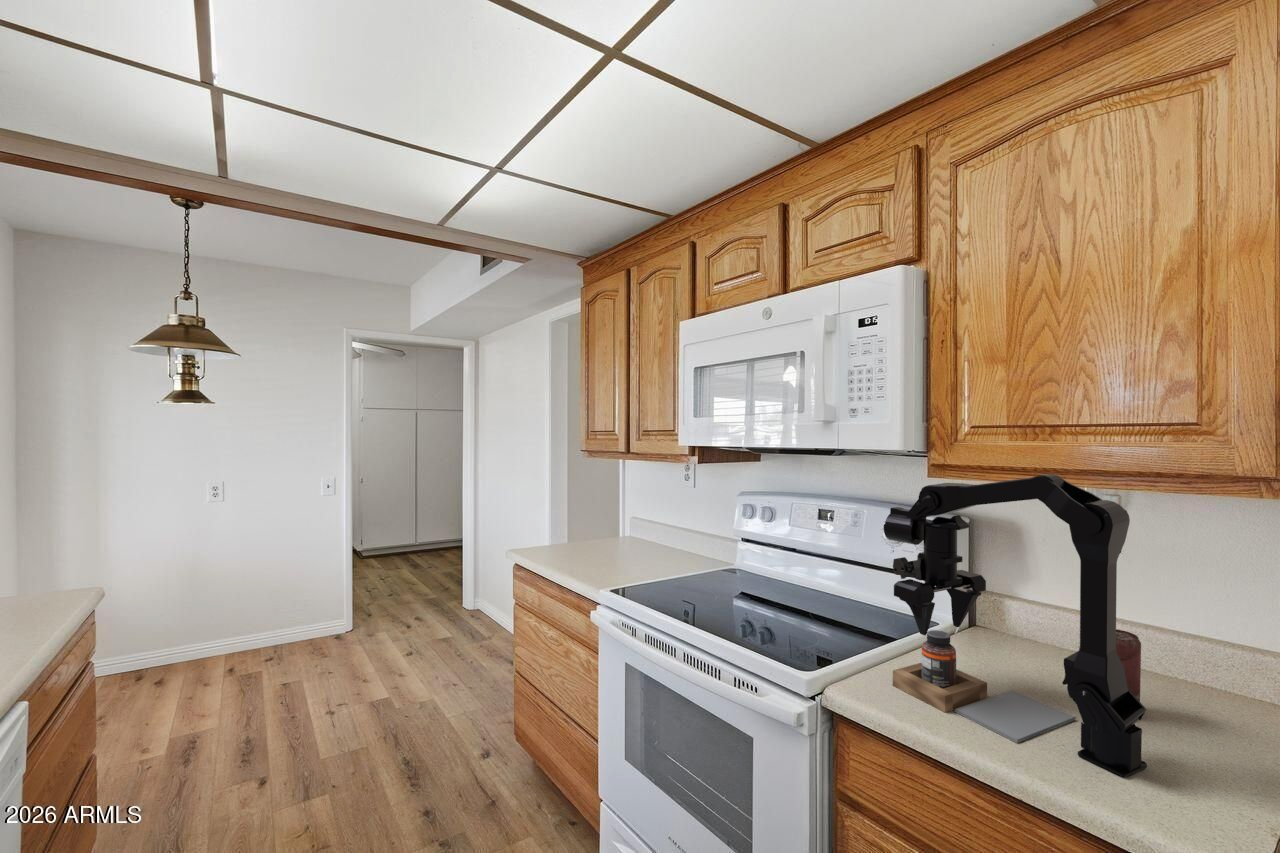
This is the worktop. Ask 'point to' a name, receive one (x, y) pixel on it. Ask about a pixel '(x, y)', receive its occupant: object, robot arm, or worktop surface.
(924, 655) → the supplement bottle
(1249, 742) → the worktop surface
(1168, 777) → the worktop surface
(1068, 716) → the grey rubber mat
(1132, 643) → the can
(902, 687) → the walnut holder
